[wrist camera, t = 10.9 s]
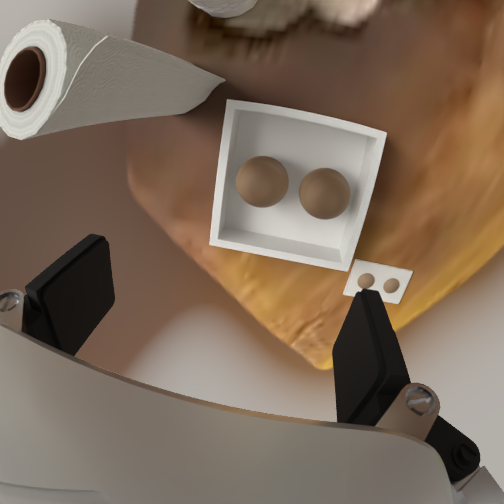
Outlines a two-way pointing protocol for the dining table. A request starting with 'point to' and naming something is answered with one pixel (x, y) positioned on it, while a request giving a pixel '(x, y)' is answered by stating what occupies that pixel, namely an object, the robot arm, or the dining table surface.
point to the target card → (378, 280)
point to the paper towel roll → (90, 80)
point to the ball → (324, 193)
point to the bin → (293, 183)
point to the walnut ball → (262, 181)
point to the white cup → (224, 7)
